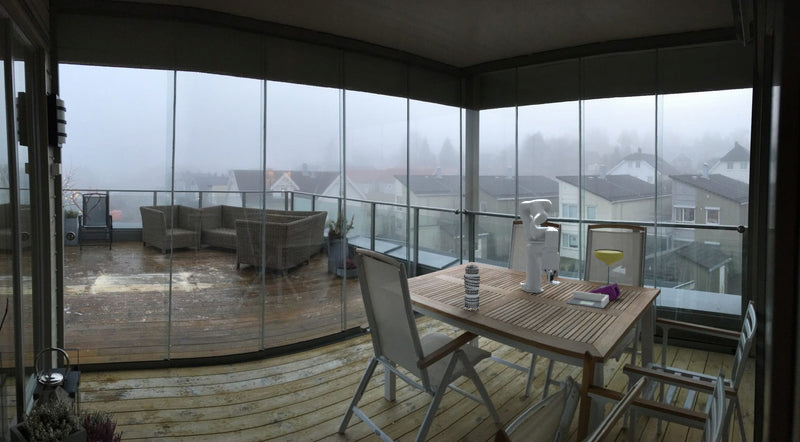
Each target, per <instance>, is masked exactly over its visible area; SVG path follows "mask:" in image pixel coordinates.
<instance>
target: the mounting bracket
mask: <svg viewBox="0 0 800 442" xmlns="http://www.w3.org/2000/svg"><path fill="white" fill-rule="evenodd" d="M604 286H605V287H601V288H595V289H592V290H589V291H587V292H586V293H594V294H602V295H609V302H610V301H613V300H614V299H617V298H618V297H620V295H621V289H620V287H619V285H618V283H617V282H614V283H612V284H609V285H608V286H607V285H604Z"/></svg>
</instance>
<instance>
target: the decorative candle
mask: <svg viewBox="0 0 800 442" xmlns="http://www.w3.org/2000/svg"><path fill="white" fill-rule="evenodd" d="M464 269H465V272H464V275H463V278H464V279H463V280H464V281H463V284H464V289H465V291H464V302H463V303H464V308H465V307H466V308H472V309H473V308H474V309H475V308H479V309H480V291H479V290H480V282H479V281H481V279H480V278H481V276H480V270H479V269H480V268H479V265H477V264H467V265H466V266H465V267H464Z"/></svg>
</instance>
